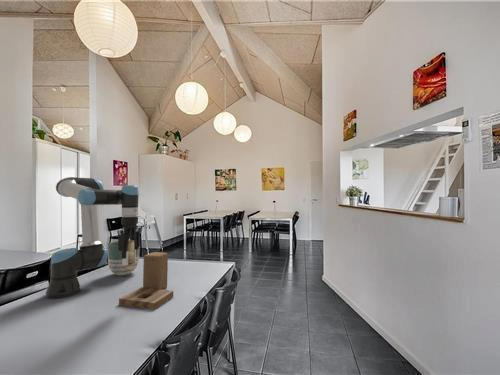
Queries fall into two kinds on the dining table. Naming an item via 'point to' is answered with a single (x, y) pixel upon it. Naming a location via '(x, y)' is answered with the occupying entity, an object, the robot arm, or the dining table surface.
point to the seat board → (146, 298)
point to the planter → (118, 260)
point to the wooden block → (155, 270)
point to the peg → (130, 255)
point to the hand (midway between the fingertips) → (129, 263)
